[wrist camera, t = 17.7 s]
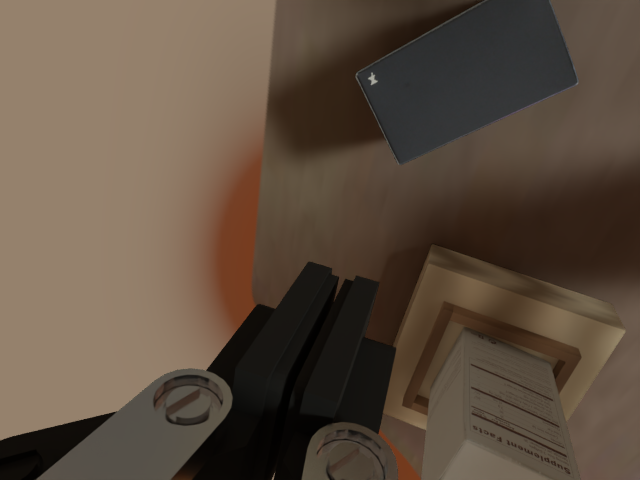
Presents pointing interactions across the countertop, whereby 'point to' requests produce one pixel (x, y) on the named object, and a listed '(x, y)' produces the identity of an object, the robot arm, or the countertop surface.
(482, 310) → the maple plinth
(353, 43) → the countertop surface
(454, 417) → the supplement box
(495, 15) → the small box
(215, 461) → the robot arm
